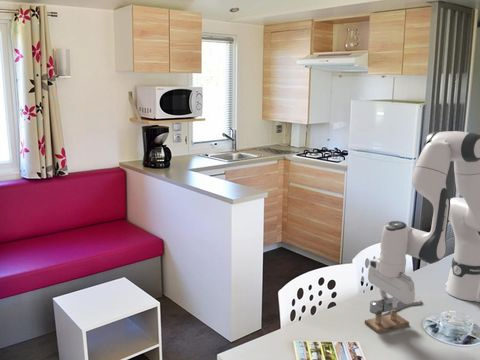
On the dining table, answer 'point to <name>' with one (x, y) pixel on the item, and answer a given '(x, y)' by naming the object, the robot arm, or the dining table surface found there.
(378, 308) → the gray flashlight
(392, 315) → the peg rack
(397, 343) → the dining table surface
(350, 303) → the dining table surface
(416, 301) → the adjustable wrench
